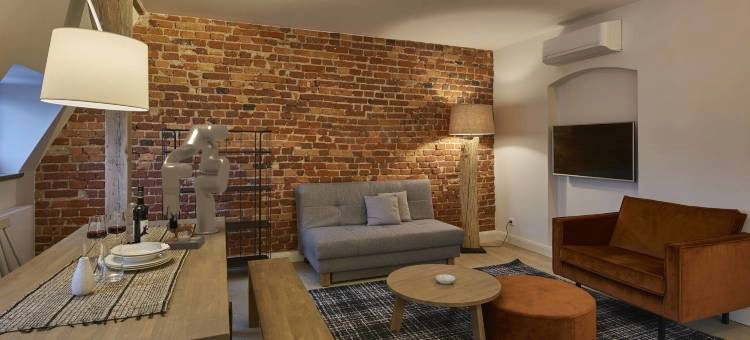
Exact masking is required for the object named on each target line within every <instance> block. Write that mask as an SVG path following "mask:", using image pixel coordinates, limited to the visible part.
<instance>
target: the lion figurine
mask: <svg viewBox="0 0 750 340" xmlns="http://www.w3.org/2000/svg"><path fill="white" fill-rule="evenodd" d="M165 226H166V230H167V231H168V232H170V233H171V234H174V236H173V238H179V233H184V232H186V231H187V235H186V236H191V237H195V236H198V234H195V229H194V227H193V225H191V224H190V223H189V224H184V225H181V224H180V223H178V228H177V229H170V224H169V221H168V222H167V223H166V225H165Z"/></svg>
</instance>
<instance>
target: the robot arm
mask: <svg viewBox="0 0 750 340" xmlns="http://www.w3.org/2000/svg"><path fill="white" fill-rule="evenodd" d="M229 132H230V131H229V128H228V127H227V126H226V125H225V124H196V125H193V126H191V128H190V129H189V130H188V133H187V135H186V137H185V139H184V141H183V143H182V144H181V145H180V146H178V147H177V148H175V149H174V150H172V151H171V152H170V153H168V154H167V156H166V157H165V158H164V161H163V162H162V166H161V168H160V169H161V170H160V171H161V173H160V174H161V186H162V195H163V201H162V202H163V205H162V207H163V211H162V212H163V215H164V216H165V217H166V216H167V219H168V222H169V224H170V229H177V228H178V224H179V223H178V215H179V214H178V213H179V212H180V211H181V201H180V194H181V187H180V186H181V184H180V183H181V182H180V179H188V178H190V177H191V176H192V175H193V173H194V172H193V171H194V169H193V167H192V165H191V164H189V163H187V162H181V161H183V160H185V159H188V158H192V157H194V156H196V155H197V154H198V153H199V152H200V149H201V148H202V150H201V152H202V153H201V156H200V157H201V158H200V165H199V170H200V172H201V173H202V175H198V176H196V177H195V178H194V180H193V189H194V192H195V200H196V201H195V204H196V205H195V206H196V229H194V231H195V234H197V235H211V234H215V233H218V232H219V228H216V227H217V226H216V201H215V197H214V196H213V194H212V193H214V194H216V193H217V194H219V193H220V194H221V193H225V192H226V190H227V189H228V183H229V177H230V171H231V164H230V160H229V159H228V157H225V156H219V152H220V150H219V146H218V145H217V143H216V142H217V141H218V142H219V141H225V140H227V138H228V136H229V134H230V133H229ZM205 174H206V175H205ZM195 234H194V235H195Z"/></svg>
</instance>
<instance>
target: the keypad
mask: <svg viewBox="0 0 750 340" xmlns="http://www.w3.org/2000/svg"><path fill="white" fill-rule="evenodd" d="M200 237H201V239H200V240H195V241H190V239H191V238H192V236H190V239H189V240H188V241H179V240H177V241H167V240H168V239H166V240H165V241H163V242H162V243H165V244H168V245H169V246H170V250H169V251H176V250H178V251H179V250H199V249H200V248H201V247H203V245H204V244H205V243H206V238H205V236H200Z"/></svg>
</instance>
